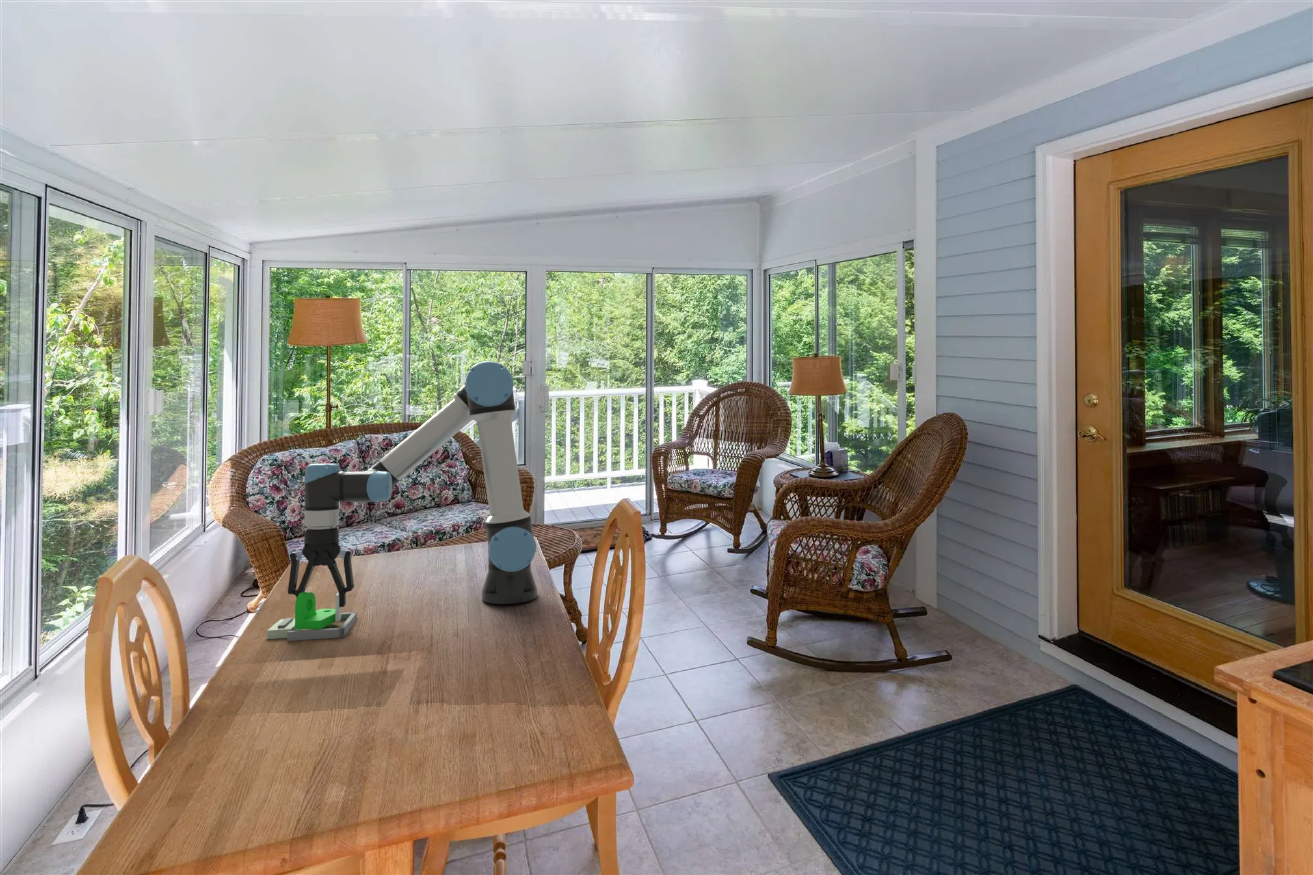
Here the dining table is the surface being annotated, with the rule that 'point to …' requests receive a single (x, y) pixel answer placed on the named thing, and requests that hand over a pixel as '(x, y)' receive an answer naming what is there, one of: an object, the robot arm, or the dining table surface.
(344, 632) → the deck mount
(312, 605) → the mechanical part
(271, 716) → the dining table surface
